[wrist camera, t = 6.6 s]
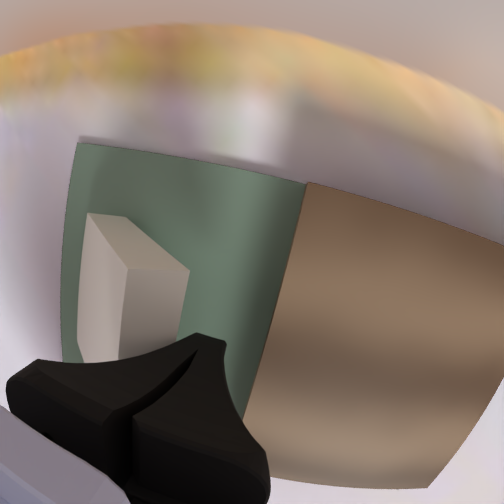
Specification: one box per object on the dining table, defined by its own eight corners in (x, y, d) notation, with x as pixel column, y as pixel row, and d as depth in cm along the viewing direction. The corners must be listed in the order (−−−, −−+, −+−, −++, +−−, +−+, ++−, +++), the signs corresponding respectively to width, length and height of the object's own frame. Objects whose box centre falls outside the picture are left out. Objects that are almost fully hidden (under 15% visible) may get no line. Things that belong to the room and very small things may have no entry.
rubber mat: (237, 431, 16) (237, 434, 16) (65, 364, 17) (63, 365, 17) (305, 184, 13) (305, 184, 13) (80, 143, 15) (77, 142, 14)
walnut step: (416, 456, 15) (427, 487, 12) (237, 431, 16) (227, 466, 13) (514, 253, 12) (547, 264, 9) (305, 184, 13) (308, 181, 10)
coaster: (161, 429, 11) (116, 438, 10) (110, 339, 16) (77, 341, 15) (189, 270, 9) (127, 268, 8) (125, 216, 15) (87, 212, 13)
